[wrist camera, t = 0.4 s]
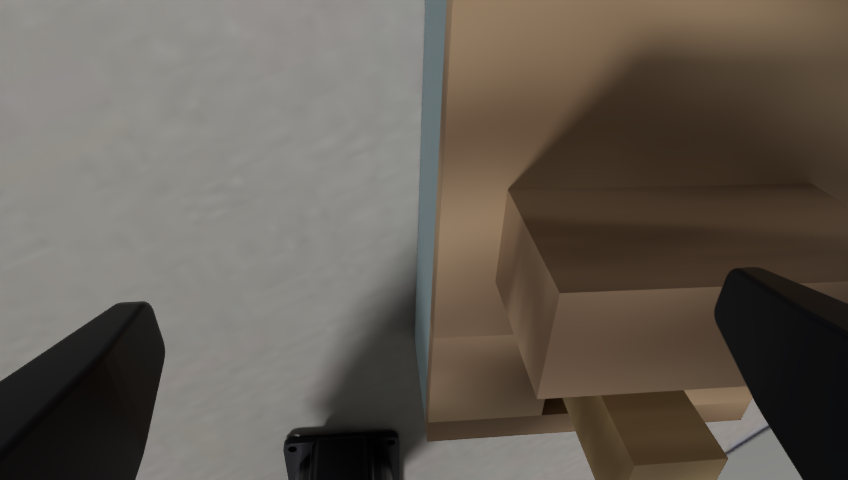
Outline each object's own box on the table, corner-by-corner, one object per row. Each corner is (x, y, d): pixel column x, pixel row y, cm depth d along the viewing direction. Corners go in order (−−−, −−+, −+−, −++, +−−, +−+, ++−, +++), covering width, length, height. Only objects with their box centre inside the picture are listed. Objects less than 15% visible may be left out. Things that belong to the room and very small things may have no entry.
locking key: (589, 316, 26) (697, 513, 18) (530, 319, 26) (612, 521, 18) (602, 266, 25) (727, 458, 16) (539, 269, 24) (634, 465, 16)
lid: (727, 401, 25) (822, 532, 20) (424, 421, 23) (443, 567, 18) (992, -123, 14) (1354, -132, 9) (454, -149, 12) (520, -176, 7)
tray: (673, 328, 29) (727, 401, 25) (414, 340, 27) (424, 421, 23) (845, -121, 18) (992, -123, 14) (429, -140, 16) (454, -149, 12)
